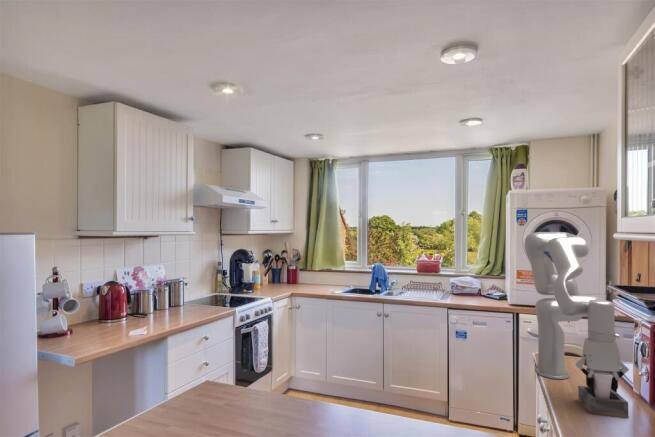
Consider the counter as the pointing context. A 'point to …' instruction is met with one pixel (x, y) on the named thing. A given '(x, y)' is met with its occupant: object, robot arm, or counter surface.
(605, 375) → the smoothie
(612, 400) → the frame
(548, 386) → the counter surface
